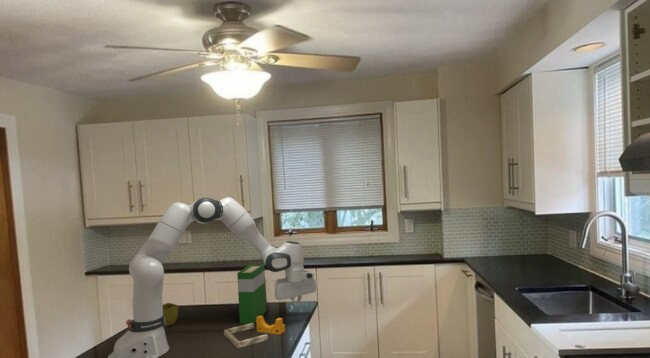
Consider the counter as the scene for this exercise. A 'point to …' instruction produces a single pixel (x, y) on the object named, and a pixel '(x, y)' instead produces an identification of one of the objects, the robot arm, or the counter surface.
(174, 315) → the flower pot
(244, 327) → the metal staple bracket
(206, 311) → the counter surface
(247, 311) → the hardback book
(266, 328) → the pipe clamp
